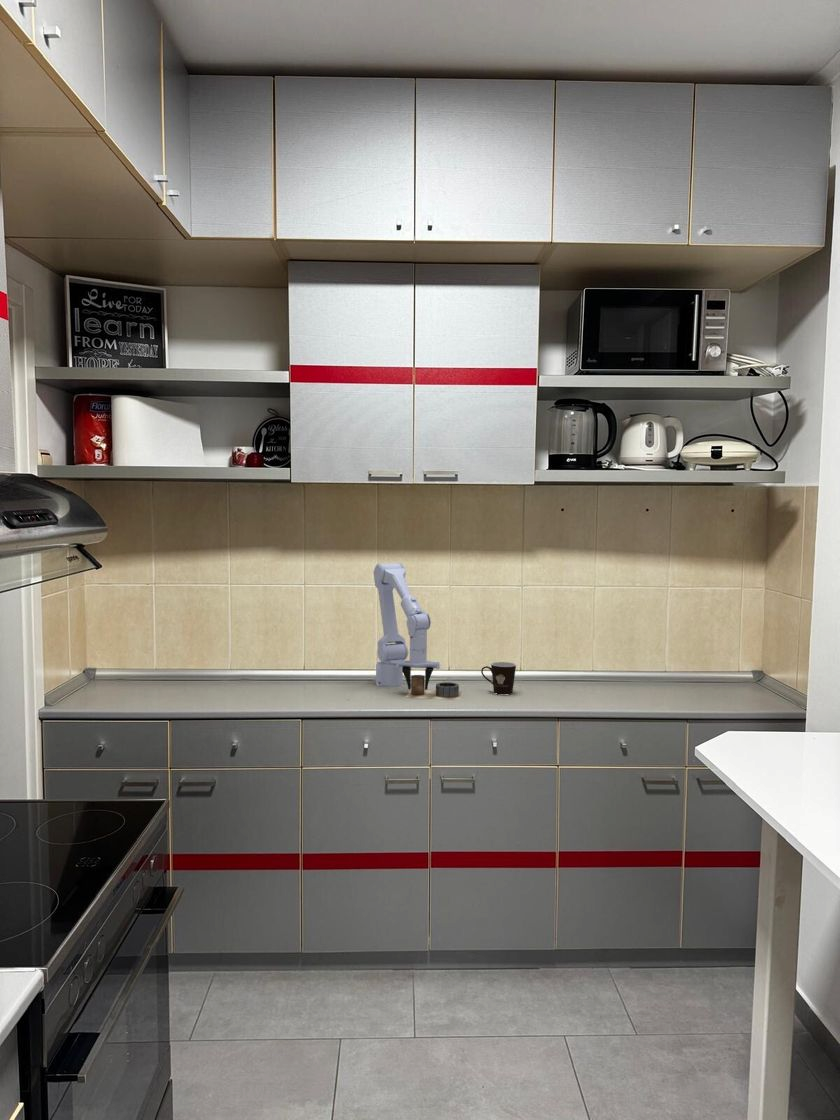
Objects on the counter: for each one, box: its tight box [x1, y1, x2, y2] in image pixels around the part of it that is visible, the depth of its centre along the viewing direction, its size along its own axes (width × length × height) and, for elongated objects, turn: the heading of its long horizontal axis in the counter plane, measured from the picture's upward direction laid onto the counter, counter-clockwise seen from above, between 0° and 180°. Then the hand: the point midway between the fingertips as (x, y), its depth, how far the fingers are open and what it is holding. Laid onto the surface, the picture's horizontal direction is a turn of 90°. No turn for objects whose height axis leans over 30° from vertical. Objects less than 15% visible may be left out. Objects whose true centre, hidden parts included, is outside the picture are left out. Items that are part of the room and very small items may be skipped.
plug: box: [410, 674, 425, 696], centre depth 273 cm, size 4×4×6 cm
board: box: [404, 689, 462, 701], centre depth 273 cm, size 18×12×1 cm, turn 84°
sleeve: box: [435, 681, 460, 698], centre depth 272 cm, size 8×8×4 cm
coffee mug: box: [480, 661, 517, 695], centre depth 282 cm, size 12×9×10 cm
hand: (417, 689), depth 273 cm, fingers open, 5 cm apart
